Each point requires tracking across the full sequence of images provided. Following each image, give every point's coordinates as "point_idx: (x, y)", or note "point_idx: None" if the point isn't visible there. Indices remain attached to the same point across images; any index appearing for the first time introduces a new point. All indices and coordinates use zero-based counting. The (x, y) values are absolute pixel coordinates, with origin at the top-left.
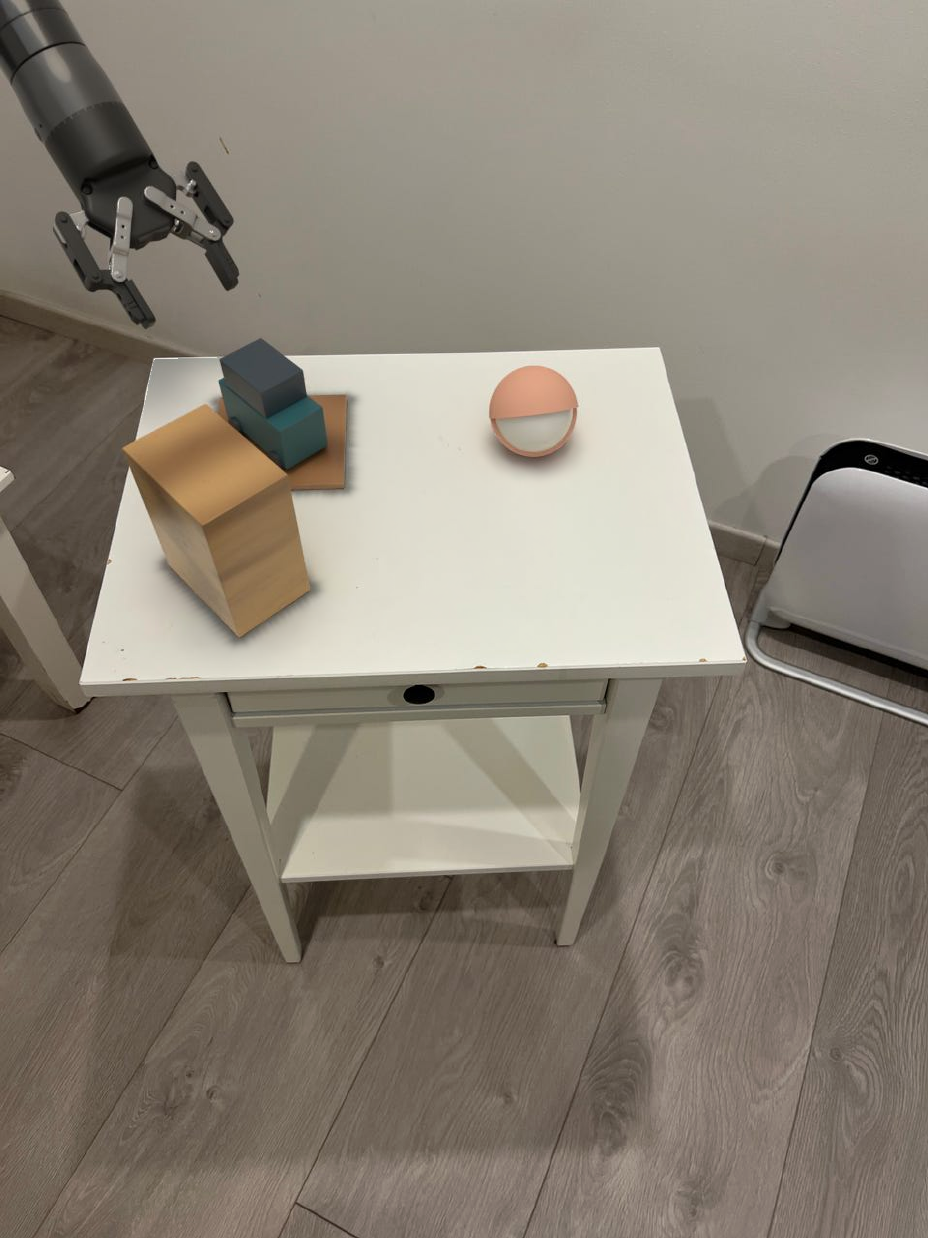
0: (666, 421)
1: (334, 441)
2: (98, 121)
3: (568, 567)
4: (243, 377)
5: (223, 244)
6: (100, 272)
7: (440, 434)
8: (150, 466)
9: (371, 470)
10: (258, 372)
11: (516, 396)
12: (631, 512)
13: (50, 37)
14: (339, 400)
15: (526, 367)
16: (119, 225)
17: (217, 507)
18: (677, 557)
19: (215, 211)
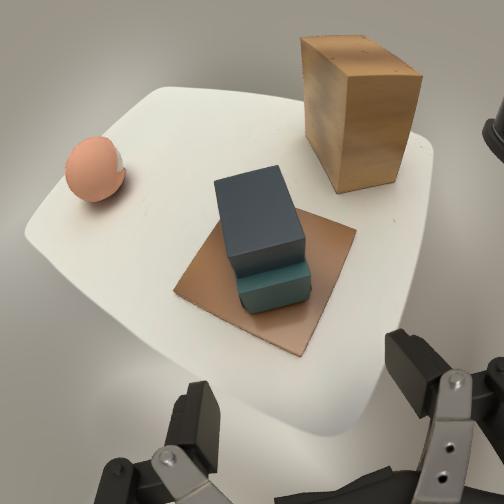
0: (56, 185)
1: (220, 234)
2: None
3: (169, 118)
4: (287, 192)
5: (166, 443)
6: (493, 374)
7: (142, 217)
8: (398, 59)
9: (211, 202)
10: (265, 193)
11: (100, 143)
12: (119, 138)
13: None
14: (183, 285)
15: (74, 161)
16: (453, 478)
17: (352, 36)
18: (129, 117)
19: (126, 493)
